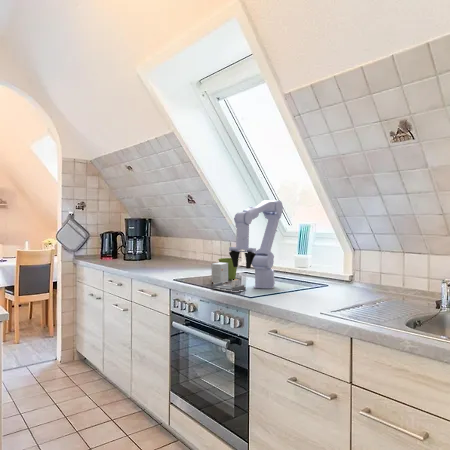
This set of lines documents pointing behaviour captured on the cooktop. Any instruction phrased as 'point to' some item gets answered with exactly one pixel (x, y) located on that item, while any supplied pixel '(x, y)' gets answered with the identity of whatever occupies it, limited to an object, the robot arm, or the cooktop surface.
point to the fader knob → (235, 283)
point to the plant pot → (229, 267)
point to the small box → (219, 272)
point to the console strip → (228, 287)
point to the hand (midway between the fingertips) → (241, 267)
